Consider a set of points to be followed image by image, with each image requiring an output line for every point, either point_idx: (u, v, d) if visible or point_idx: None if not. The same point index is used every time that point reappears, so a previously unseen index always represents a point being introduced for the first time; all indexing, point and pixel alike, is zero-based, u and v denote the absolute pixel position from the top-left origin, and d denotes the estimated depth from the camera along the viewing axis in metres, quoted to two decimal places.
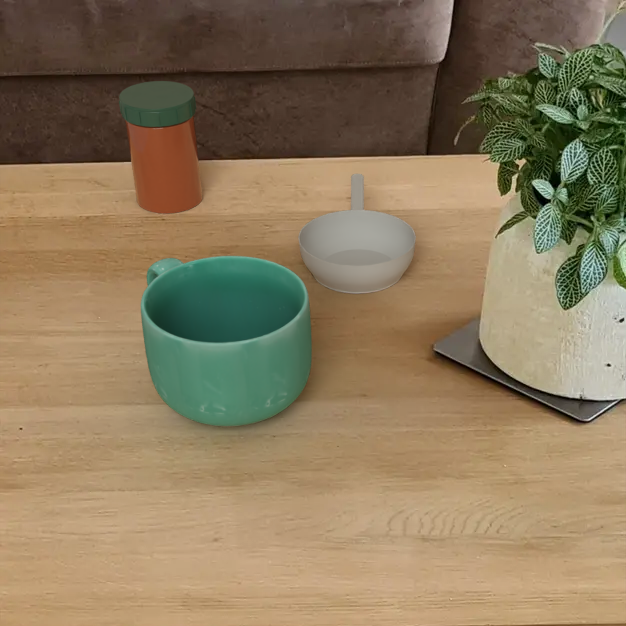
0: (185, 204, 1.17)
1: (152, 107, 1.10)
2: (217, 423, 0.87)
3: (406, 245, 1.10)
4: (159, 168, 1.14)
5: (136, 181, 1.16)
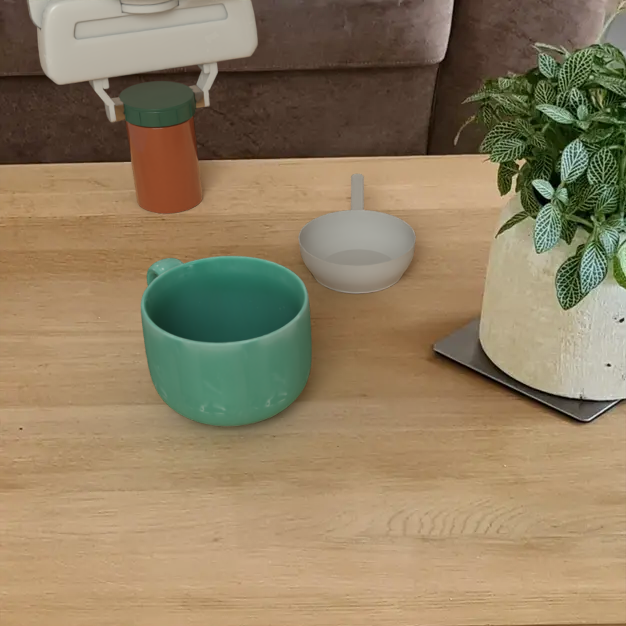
0: (185, 204, 1.17)
1: (152, 107, 1.10)
2: (217, 423, 0.87)
3: (406, 245, 1.10)
4: (159, 168, 1.14)
5: (136, 181, 1.16)
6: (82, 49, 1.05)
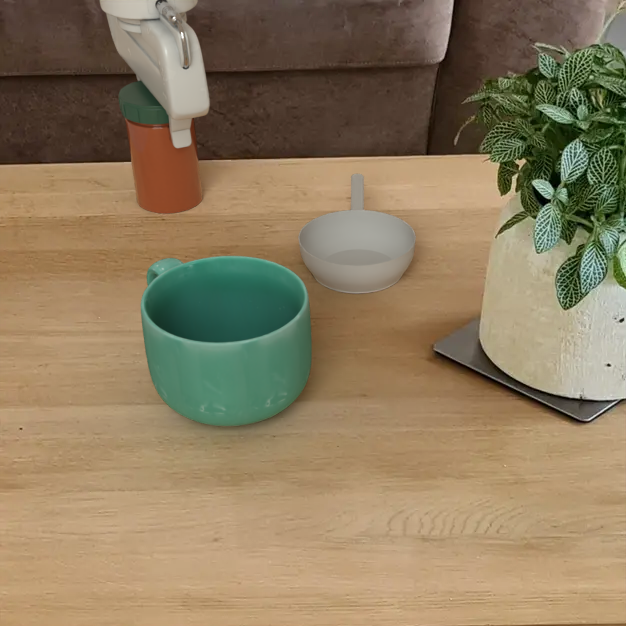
0: (185, 204, 1.17)
1: None
2: (217, 423, 0.87)
3: (406, 245, 1.10)
4: (159, 168, 1.14)
5: (136, 181, 1.16)
6: None
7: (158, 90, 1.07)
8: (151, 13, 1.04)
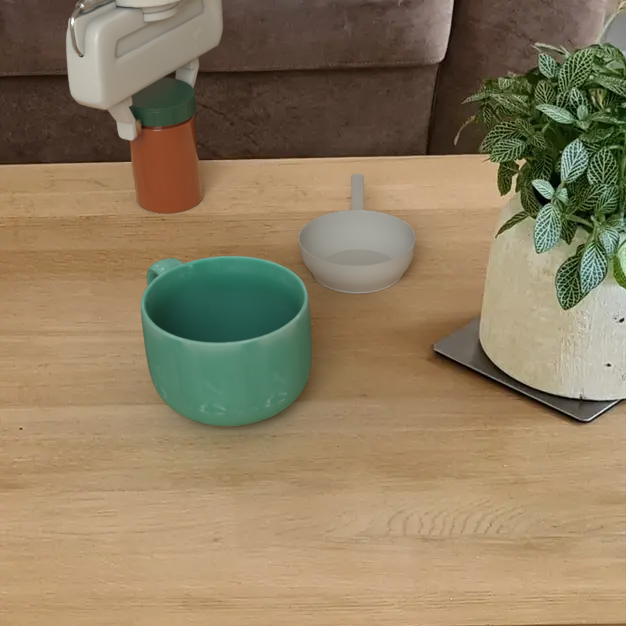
0: (186, 204, 1.17)
1: (189, 95, 1.12)
2: (217, 423, 0.87)
3: (406, 245, 1.10)
4: (160, 169, 1.14)
5: (136, 180, 1.16)
6: (121, 68, 1.03)
7: None
8: None
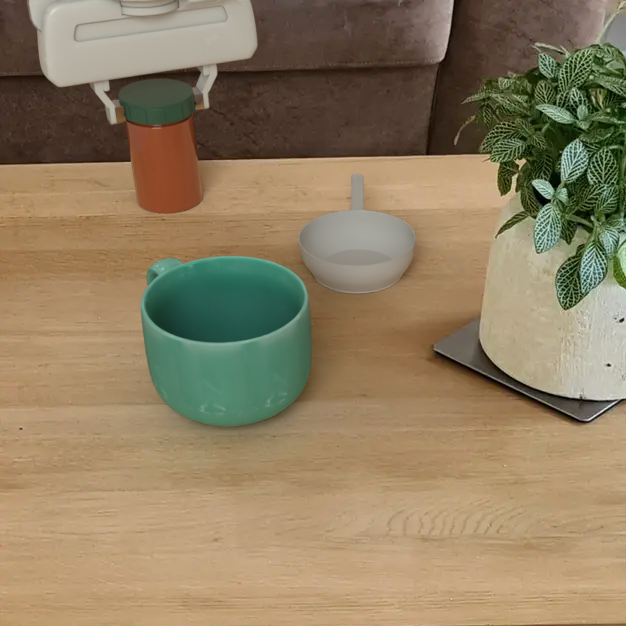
0: (185, 204, 1.17)
1: (185, 96, 1.12)
2: (217, 423, 0.87)
3: (406, 245, 1.10)
4: (159, 168, 1.14)
5: (136, 181, 1.16)
6: (82, 52, 1.05)
7: None
8: None
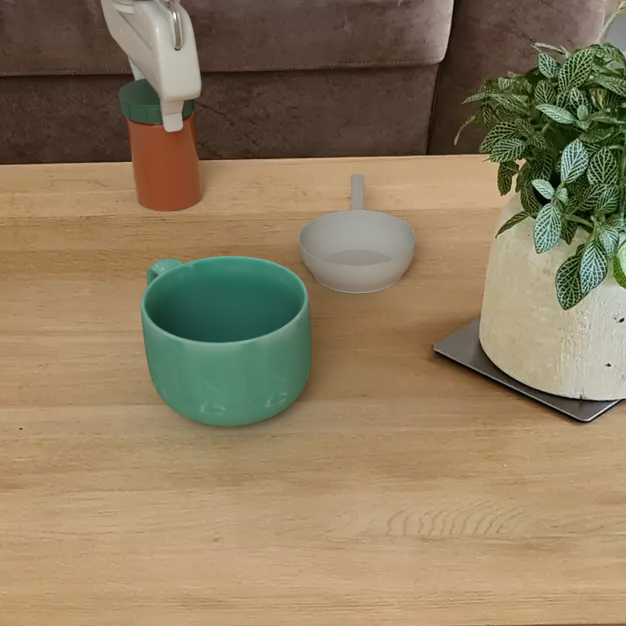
0: (188, 201, 1.18)
1: None
2: (217, 423, 0.87)
3: (406, 245, 1.10)
4: (163, 166, 1.14)
5: (138, 180, 1.16)
6: None
7: (149, 71, 1.05)
8: None
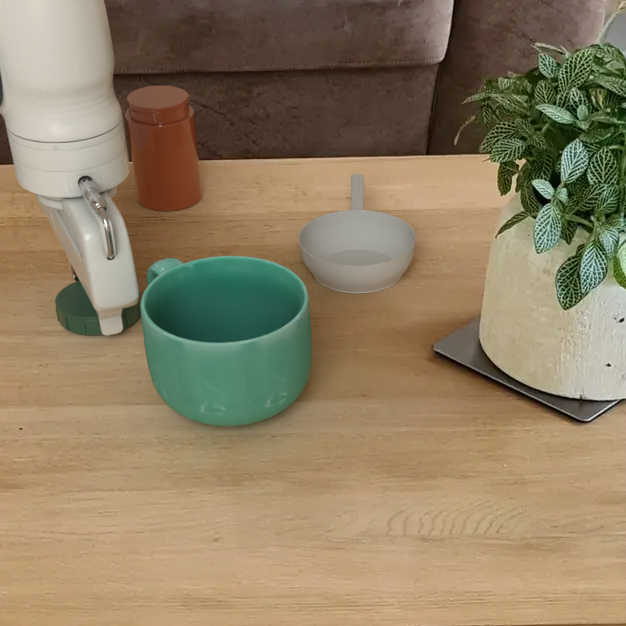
0: (188, 201, 1.18)
1: None
2: (217, 423, 0.87)
3: (406, 245, 1.10)
4: (163, 166, 1.14)
5: (138, 180, 1.16)
6: None
7: (81, 275, 0.93)
8: (73, 191, 0.90)
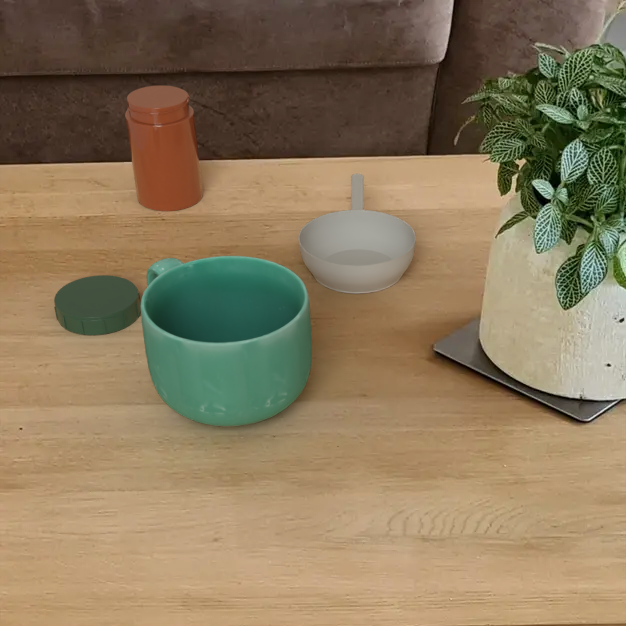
0: (188, 201, 1.18)
1: (114, 278, 1.03)
2: (217, 423, 0.87)
3: (406, 245, 1.10)
4: (163, 166, 1.14)
5: (138, 180, 1.16)
6: None
7: None
8: None
